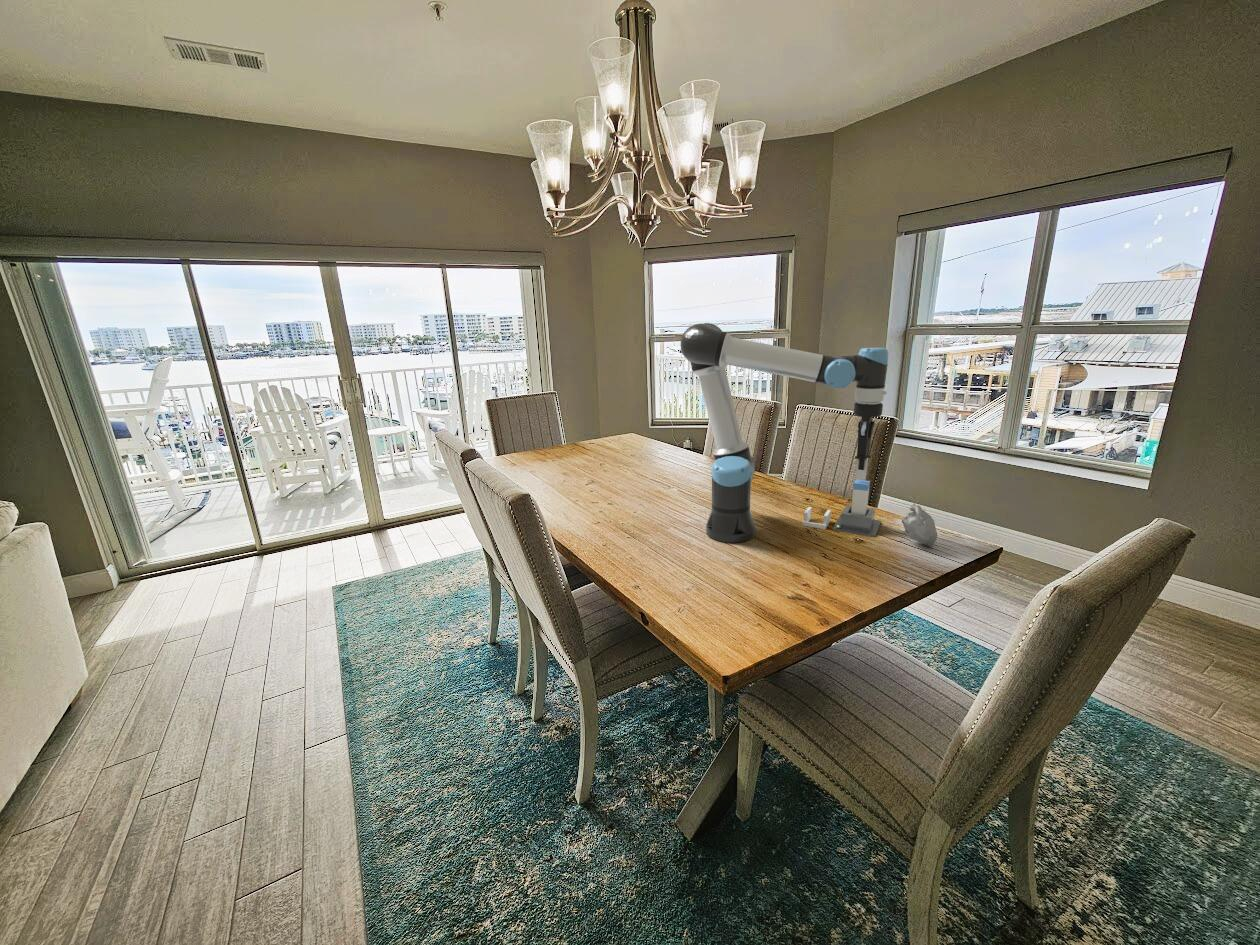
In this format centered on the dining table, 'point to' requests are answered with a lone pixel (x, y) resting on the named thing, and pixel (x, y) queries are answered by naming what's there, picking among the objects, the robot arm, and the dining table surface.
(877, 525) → the port panel
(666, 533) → the dining table surface
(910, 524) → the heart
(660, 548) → the dining table surface
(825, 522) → the holster
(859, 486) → the plug
